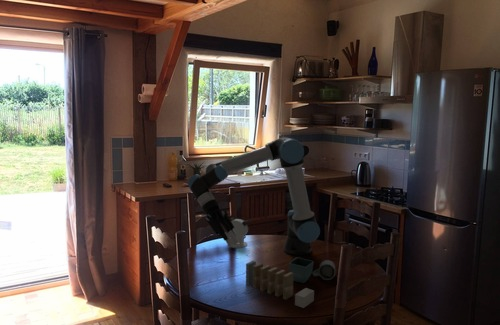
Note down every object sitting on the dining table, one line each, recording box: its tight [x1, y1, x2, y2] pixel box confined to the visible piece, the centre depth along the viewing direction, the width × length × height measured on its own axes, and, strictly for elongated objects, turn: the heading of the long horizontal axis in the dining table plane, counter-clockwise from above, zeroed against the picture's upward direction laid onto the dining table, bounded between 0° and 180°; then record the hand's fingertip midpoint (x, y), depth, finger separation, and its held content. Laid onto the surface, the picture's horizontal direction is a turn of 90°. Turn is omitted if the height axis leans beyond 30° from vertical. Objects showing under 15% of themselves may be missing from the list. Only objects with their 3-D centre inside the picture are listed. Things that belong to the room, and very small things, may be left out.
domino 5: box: [274, 269, 286, 298], centre depth 173 cm, size 2×5×10 cm, turn 141°
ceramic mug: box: [311, 259, 336, 281], centre depth 193 cm, size 11×8×8 cm
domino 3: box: [259, 264, 271, 292], centre depth 178 cm, size 2×5×10 cm, turn 141°
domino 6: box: [282, 271, 294, 301], centre depth 171 cm, size 2×5×10 cm, turn 141°
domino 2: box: [252, 262, 264, 290], centre depth 181 cm, size 2×5×10 cm, turn 141°
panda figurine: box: [230, 217, 250, 249], centre depth 235 cm, size 12×11×15 cm
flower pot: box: [288, 257, 315, 284], centre depth 187 cm, size 9×9×9 cm
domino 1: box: [245, 260, 257, 287], centre depth 183 cm, size 2×5×10 cm, turn 141°
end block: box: [294, 287, 315, 309], centre depth 166 cm, size 4×8×4 cm, turn 141°
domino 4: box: [267, 267, 279, 295], centre depth 176 cm, size 2×5×10 cm, turn 141°
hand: (234, 244), depth 188 cm, fingers open, 3 cm apart
